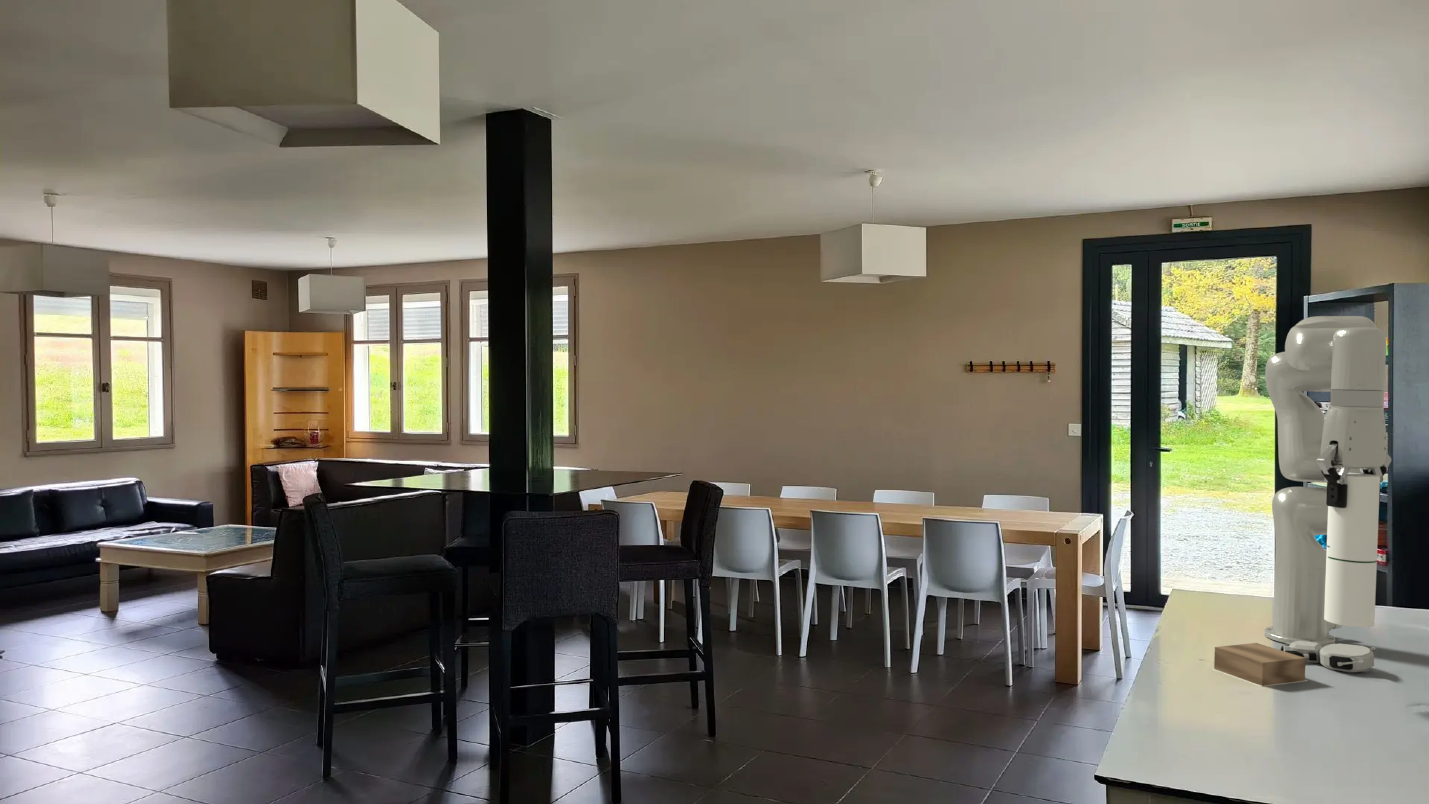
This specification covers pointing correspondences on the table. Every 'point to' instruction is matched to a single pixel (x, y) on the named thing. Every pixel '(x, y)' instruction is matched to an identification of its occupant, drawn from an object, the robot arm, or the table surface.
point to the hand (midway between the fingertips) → (1353, 505)
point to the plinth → (1259, 664)
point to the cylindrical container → (1353, 554)
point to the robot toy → (1333, 655)
